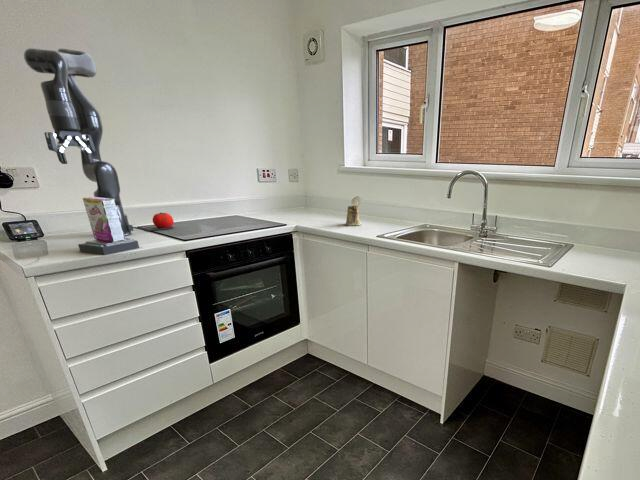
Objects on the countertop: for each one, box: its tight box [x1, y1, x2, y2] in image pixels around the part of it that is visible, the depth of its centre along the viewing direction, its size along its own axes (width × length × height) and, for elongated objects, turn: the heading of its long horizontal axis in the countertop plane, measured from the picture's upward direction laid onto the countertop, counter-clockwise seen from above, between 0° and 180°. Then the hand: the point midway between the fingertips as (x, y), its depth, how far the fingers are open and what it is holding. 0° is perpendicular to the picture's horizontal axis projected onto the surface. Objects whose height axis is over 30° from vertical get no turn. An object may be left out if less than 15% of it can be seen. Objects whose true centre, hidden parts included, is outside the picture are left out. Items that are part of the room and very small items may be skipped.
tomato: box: [152, 212, 175, 229], centre depth 186 cm, size 9×10×8 cm
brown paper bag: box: [345, 196, 362, 227], centre depth 213 cm, size 9×14×18 cm, turn 27°
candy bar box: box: [82, 196, 126, 242], centre depth 139 cm, size 11×5×16 cm, turn 71°
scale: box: [77, 239, 140, 256], centre depth 142 cm, size 14×13×3 cm
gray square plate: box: [85, 237, 135, 246], centre depth 142 cm, size 11×11×1 cm
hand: (77, 163), depth 132 cm, fingers open, 8 cm apart
